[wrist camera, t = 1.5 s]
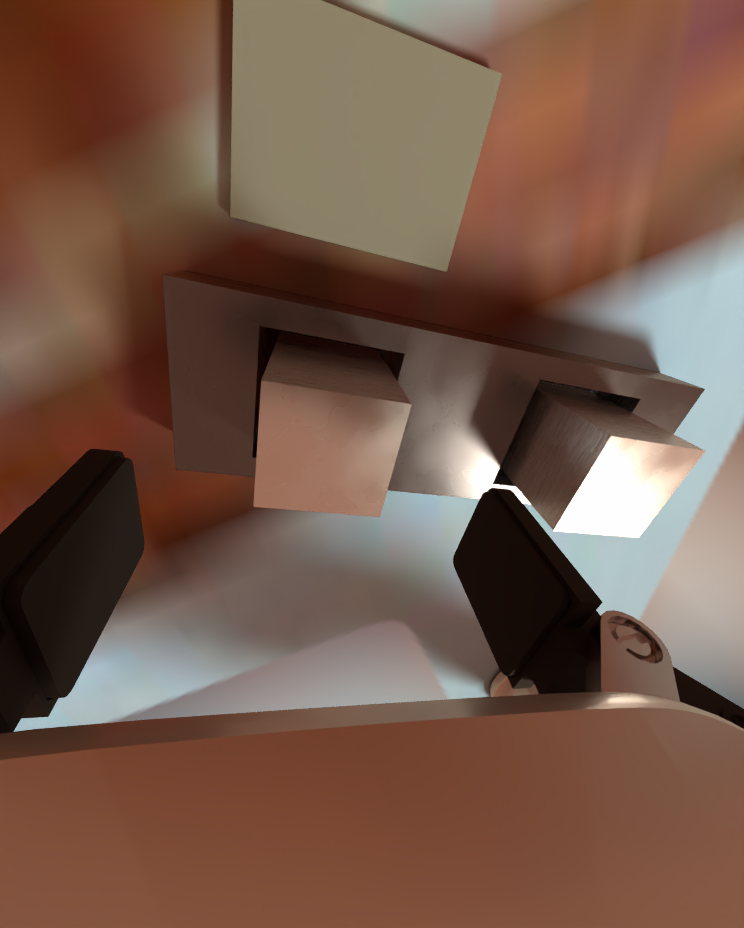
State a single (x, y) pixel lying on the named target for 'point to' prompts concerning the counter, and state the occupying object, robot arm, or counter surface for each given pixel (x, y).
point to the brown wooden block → (594, 462)
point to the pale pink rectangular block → (327, 428)
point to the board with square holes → (411, 362)
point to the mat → (353, 130)
